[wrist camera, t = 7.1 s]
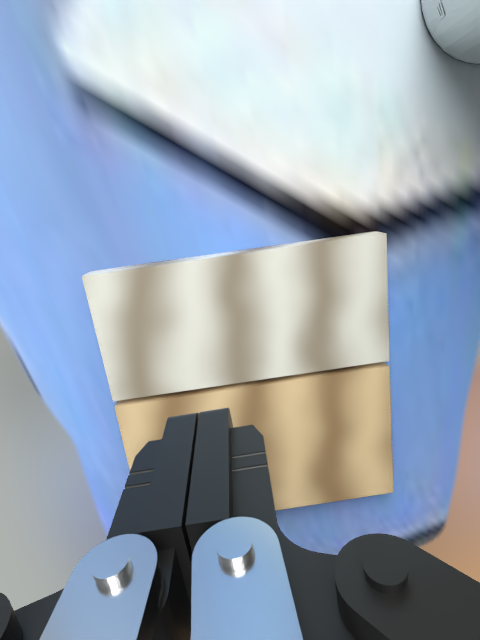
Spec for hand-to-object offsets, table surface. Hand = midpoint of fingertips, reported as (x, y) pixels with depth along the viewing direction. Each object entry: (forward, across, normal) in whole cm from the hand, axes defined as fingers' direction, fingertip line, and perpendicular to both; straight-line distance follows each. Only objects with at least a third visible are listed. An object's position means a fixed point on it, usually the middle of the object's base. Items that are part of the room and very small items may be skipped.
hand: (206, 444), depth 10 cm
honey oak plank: (+22, -1, +15) cm, 26 cm away
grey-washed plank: (+22, -1, +3) cm, 22 cm away
